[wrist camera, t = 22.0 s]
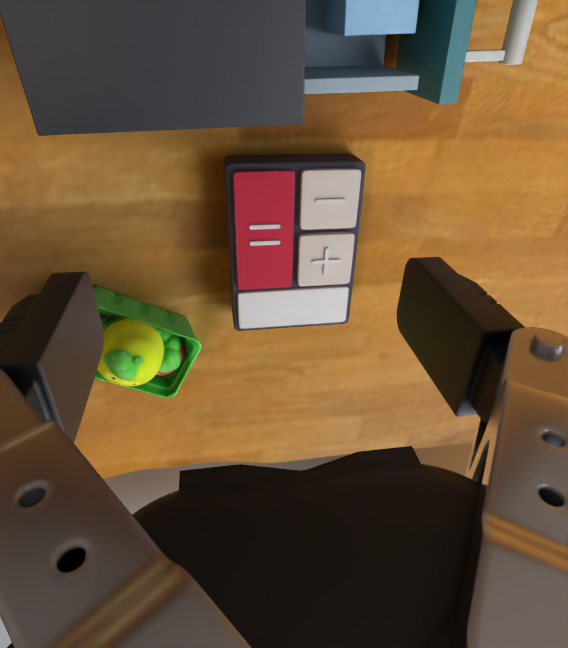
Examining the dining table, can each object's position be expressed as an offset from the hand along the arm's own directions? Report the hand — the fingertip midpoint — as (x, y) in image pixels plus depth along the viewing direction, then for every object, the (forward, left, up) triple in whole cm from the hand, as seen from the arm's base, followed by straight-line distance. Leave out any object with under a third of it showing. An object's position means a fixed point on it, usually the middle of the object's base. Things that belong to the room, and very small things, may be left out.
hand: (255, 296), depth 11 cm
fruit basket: (-18, +10, -28) cm, 34 cm away
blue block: (+7, -10, -25) cm, 28 cm away
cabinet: (+7, +3, -27) cm, 28 cm away
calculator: (-11, -5, -28) cm, 30 cm away
